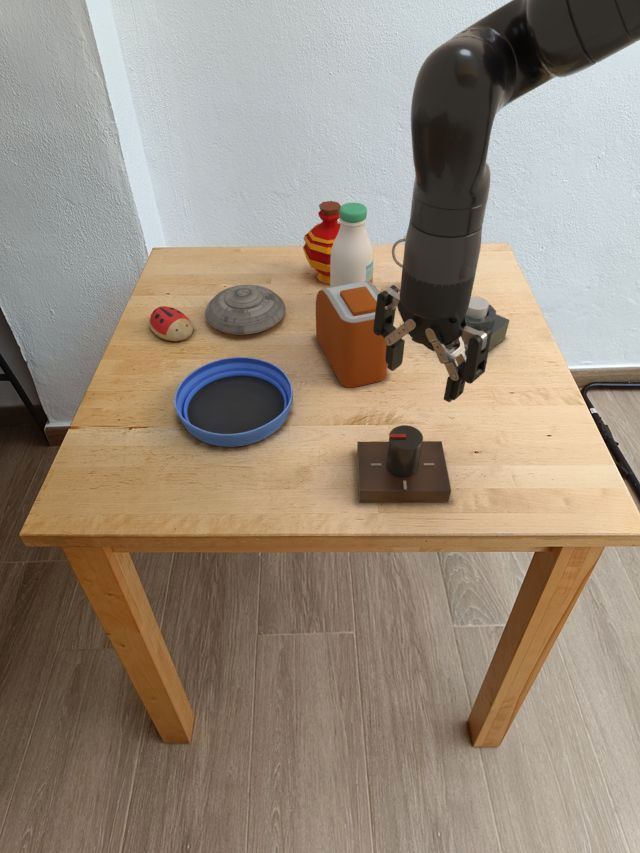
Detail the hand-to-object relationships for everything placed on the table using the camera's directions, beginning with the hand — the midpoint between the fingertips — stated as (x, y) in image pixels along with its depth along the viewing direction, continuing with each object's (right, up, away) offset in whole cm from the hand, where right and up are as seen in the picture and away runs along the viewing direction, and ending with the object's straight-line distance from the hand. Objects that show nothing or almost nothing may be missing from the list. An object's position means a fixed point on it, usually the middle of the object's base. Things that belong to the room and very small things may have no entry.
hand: (421, 382), depth 71 cm
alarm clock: (-7, +6, +29) cm, 31 cm away
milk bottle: (-7, +17, +40) cm, 43 cm away
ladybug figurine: (-40, +12, +36) cm, 55 cm away
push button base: (+14, +10, +32) cm, 37 cm away
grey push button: (+14, +14, +28) cm, 35 cm away
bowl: (-26, -3, +20) cm, 33 cm away
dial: (-1, -11, +8) cm, 14 cm away
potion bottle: (-11, +25, +48) cm, 55 cm away
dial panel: (-1, -12, +10) cm, 16 cm away
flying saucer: (-26, +15, +38) cm, 49 cm away
